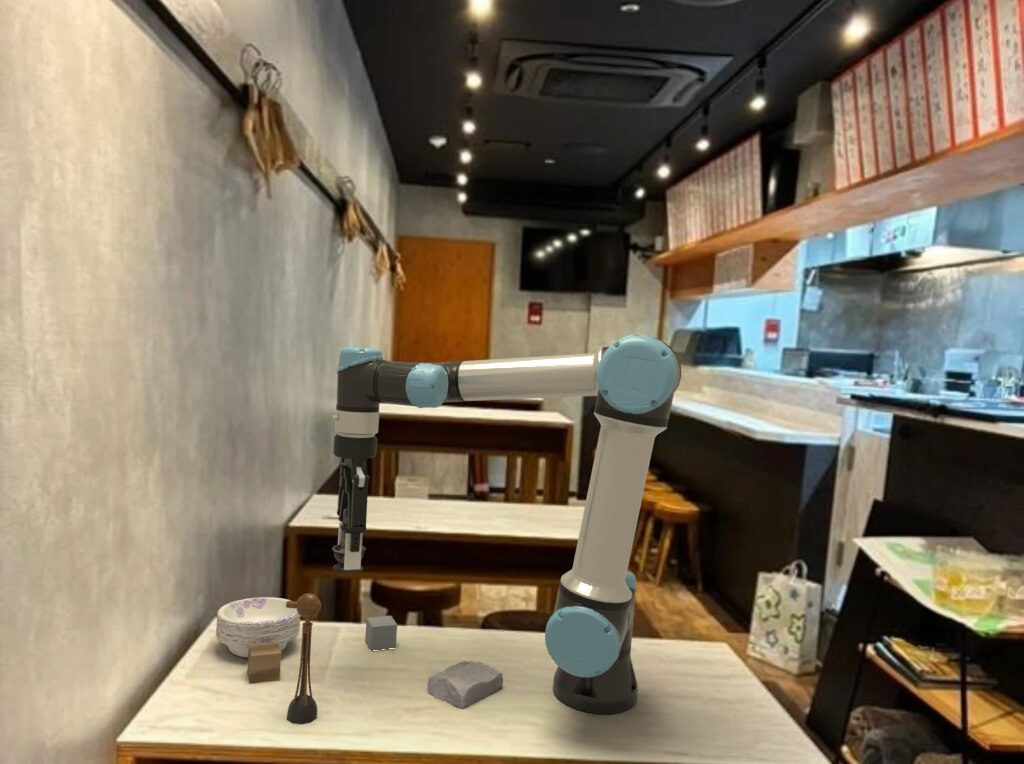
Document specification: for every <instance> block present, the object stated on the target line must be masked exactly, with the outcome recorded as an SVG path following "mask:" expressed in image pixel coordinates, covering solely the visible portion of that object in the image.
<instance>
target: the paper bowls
mask: <svg viewBox="0 0 1024 764" xmlns="http://www.w3.org/2000/svg"><path fill="white" fill-rule="evenodd" d="M287 601H291V599H287V598H280V597H272V596H262V597H261V596H260V597H251V598H243V599H239V600H234V601H230V602H228V603H226V604H223V606H221V607H220V608H219V609H218V611H217V612H216V613H217V614H216V628H215V629H216V634H215V635H216V640H217V641H218V642H220V644H224V645H225V646H227V648H228V650H229V651H230V652H231V653H232V654H233V655H234V656H235V655H236V656H238V657H241V658H247V659H248V650H249V644H260V643H271V642H278V644H279V647H280V651H281V652H282V651H283V650H284V649H285V648H286V647H287V645H288V643H289V642H291V641H293V640H294V639H295V638H297V637H298V636H299V634H300V630H301V629H300V626H301V616H300V615H299V613H298V612H297V609H295V608H287V607H286V603H287Z"/></svg>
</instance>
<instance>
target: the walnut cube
mask: <svg viewBox="0 0 1024 764" xmlns="http://www.w3.org/2000/svg"><path fill="white" fill-rule="evenodd" d="M281 661H282V651H280V647H279V644H278V642H271V643H260V644H249V650H248V658H247V669H246V670H247V672H246V673H247V678H248V682H249V683H248V684H258V683H259V684H261V683H269V682H275V681H276V682H277V681H280V679H281V666H282V665H281Z"/></svg>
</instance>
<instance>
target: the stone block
mask: <svg viewBox="0 0 1024 764" xmlns="http://www.w3.org/2000/svg"><path fill="white" fill-rule="evenodd" d="M503 684H504V677H503V672H501V671H500V670H497V669H495V667H492V666H490V665H488V664H486V663H484V662H481V661H472V660H471V661H467V660H465V661H460V662H458V663H456V664H453V665H450V666H448V667H447V668H445V669H444V670H443V671H441V672H438V673H436V674H433V675H430V676H429V677H428V680H427V690H428V694H429V696H432V697H433V696H434V698H435V700H439V701H442V702H444V701H445V703H447V704H449V703H450V705H451V706H455V707H458V708H459V709H465V708H466V709H467V707H470V706H471V704H472V705H473V703H474V704H476V703H477V702H479V701H480V699H481V700H483V699H484V697H485V698H487V697H488V696H490V695H492V694H494V693H497V690H498V691H499V690H500V689H501V688H502V685H503ZM489 694H490V695H489ZM486 696H487V697H486ZM482 698H483V699H482ZM469 705H470V706H469Z"/></svg>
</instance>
